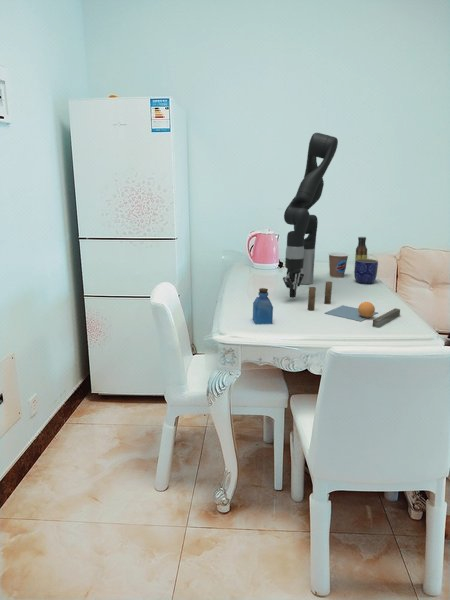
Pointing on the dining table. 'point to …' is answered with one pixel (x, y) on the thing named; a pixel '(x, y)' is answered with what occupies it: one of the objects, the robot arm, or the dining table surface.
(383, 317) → the wall
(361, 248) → the sauce bottle
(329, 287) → the post
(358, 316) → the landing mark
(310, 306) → the post
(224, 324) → the dining table surface
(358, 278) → the planter
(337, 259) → the coffee cup
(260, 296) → the perfume bottle
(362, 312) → the ball
